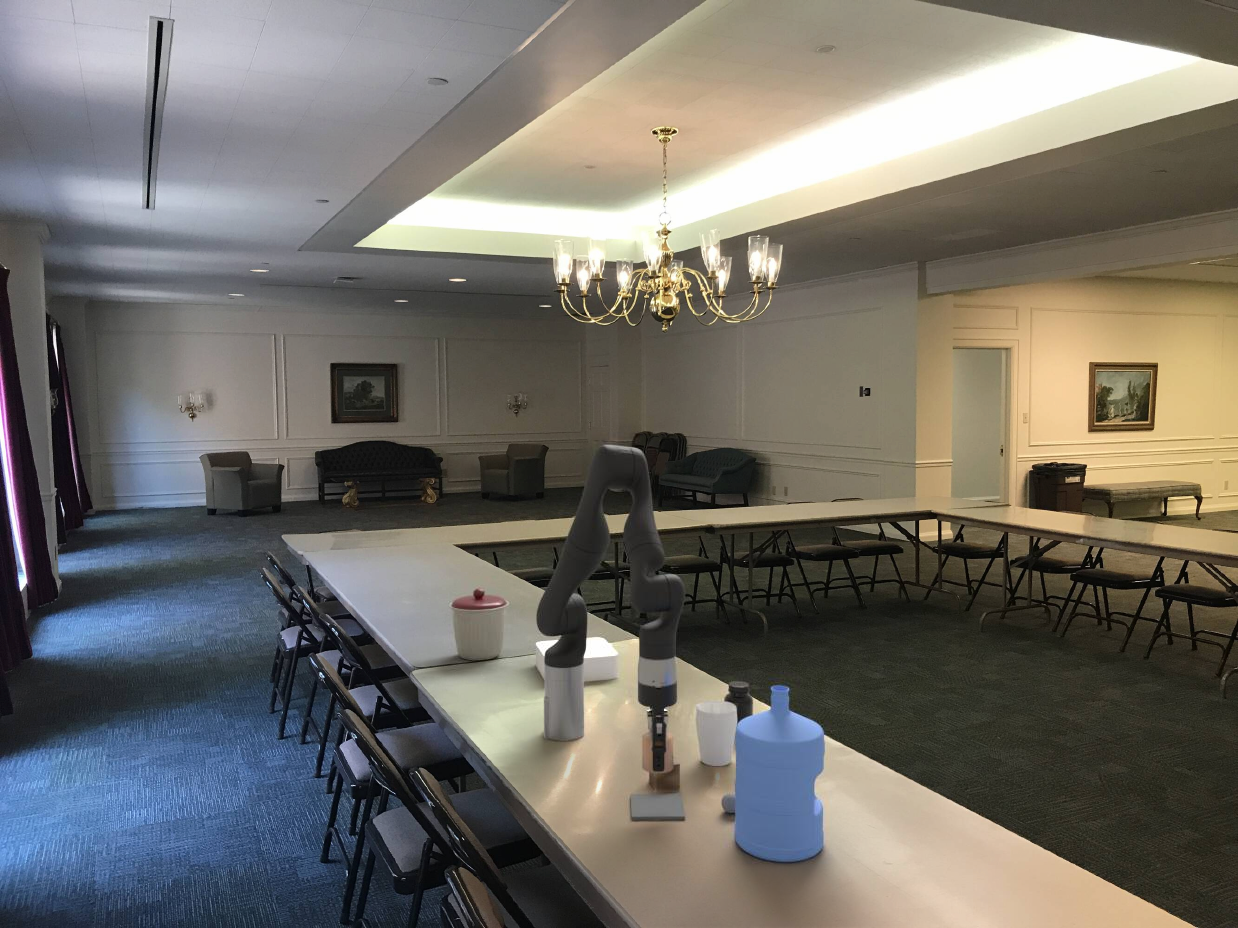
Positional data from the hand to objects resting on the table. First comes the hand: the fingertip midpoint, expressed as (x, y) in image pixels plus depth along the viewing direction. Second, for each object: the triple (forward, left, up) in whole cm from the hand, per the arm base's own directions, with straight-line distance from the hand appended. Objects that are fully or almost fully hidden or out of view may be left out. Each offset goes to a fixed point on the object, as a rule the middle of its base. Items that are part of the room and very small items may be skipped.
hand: (657, 763), depth 176 cm
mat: (0, 0, -9) cm, 9 cm away
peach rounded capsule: (0, 0, -1) cm, 1 cm away
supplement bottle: (+21, +39, -9) cm, 45 cm away
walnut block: (+2, +11, -9) cm, 14 cm away
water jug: (+21, -14, -9) cm, 27 cm away
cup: (+14, +23, -9) cm, 28 cm away
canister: (-50, +105, -9) cm, 117 cm away
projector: (-19, +90, -9) cm, 93 cm away
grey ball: (+14, -2, -9) cm, 17 cm away
